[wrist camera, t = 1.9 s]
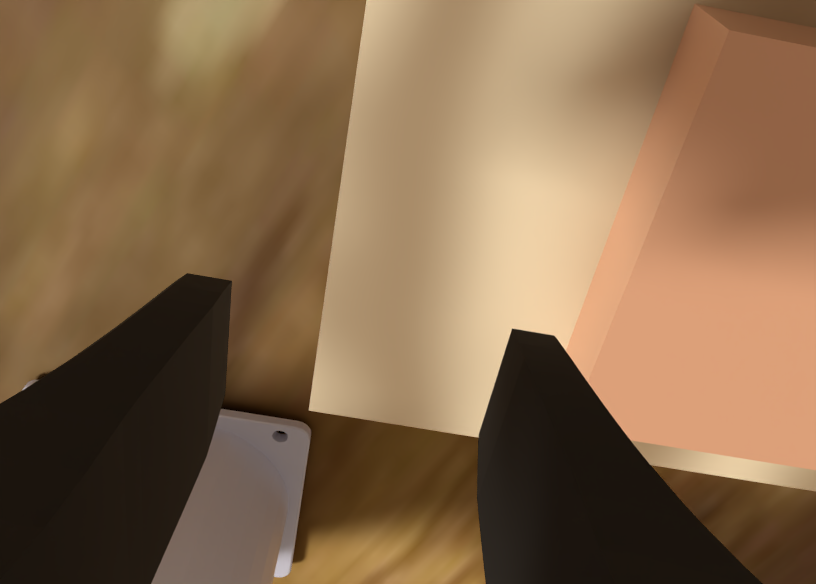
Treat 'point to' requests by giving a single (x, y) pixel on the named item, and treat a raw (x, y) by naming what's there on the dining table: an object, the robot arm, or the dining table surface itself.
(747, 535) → the dining table surface
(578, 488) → the robot arm
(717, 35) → the tile
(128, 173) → the dining table surface
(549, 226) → the deck
